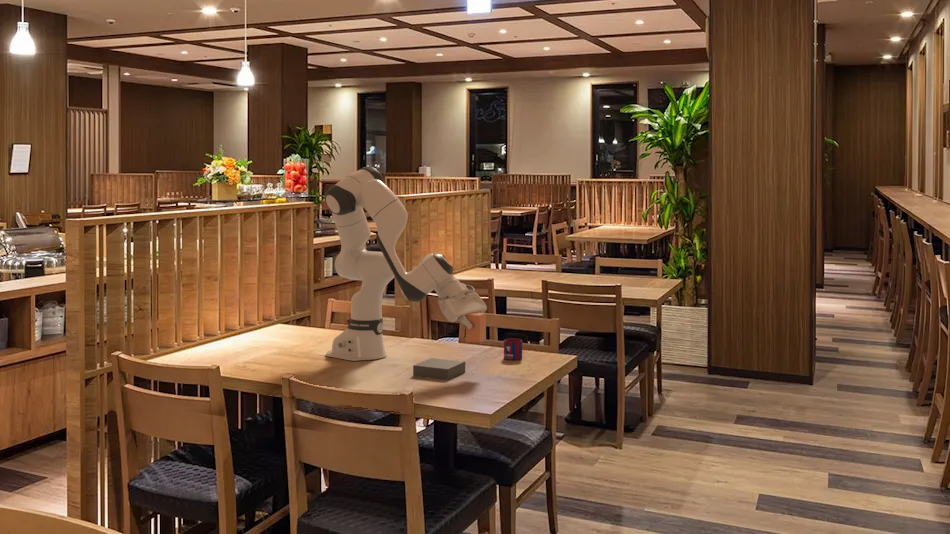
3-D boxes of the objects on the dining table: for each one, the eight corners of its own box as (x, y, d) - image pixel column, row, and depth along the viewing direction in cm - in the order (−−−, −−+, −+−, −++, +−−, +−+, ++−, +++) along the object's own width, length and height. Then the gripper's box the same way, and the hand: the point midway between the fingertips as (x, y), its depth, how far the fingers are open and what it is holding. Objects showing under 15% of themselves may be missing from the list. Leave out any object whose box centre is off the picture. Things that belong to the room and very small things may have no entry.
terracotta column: (466, 341, 290) (466, 314, 289) (472, 338, 294) (472, 312, 293) (479, 342, 288) (479, 315, 287) (485, 339, 292) (485, 313, 291)
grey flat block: (413, 377, 289) (413, 365, 289) (431, 369, 301) (431, 358, 301) (448, 381, 284) (448, 369, 283) (465, 373, 296) (465, 361, 295)
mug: (500, 359, 316) (500, 340, 315) (514, 354, 324) (514, 336, 324) (516, 361, 312) (516, 342, 312) (530, 356, 321) (530, 338, 320)
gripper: (440, 292, 284) (465, 324, 280) (475, 285, 301) (499, 316, 297) (430, 304, 287) (454, 336, 283) (464, 297, 304) (488, 327, 300)
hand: (477, 326), depth 290 cm, fingers closed on terracotta column, 5 cm apart
